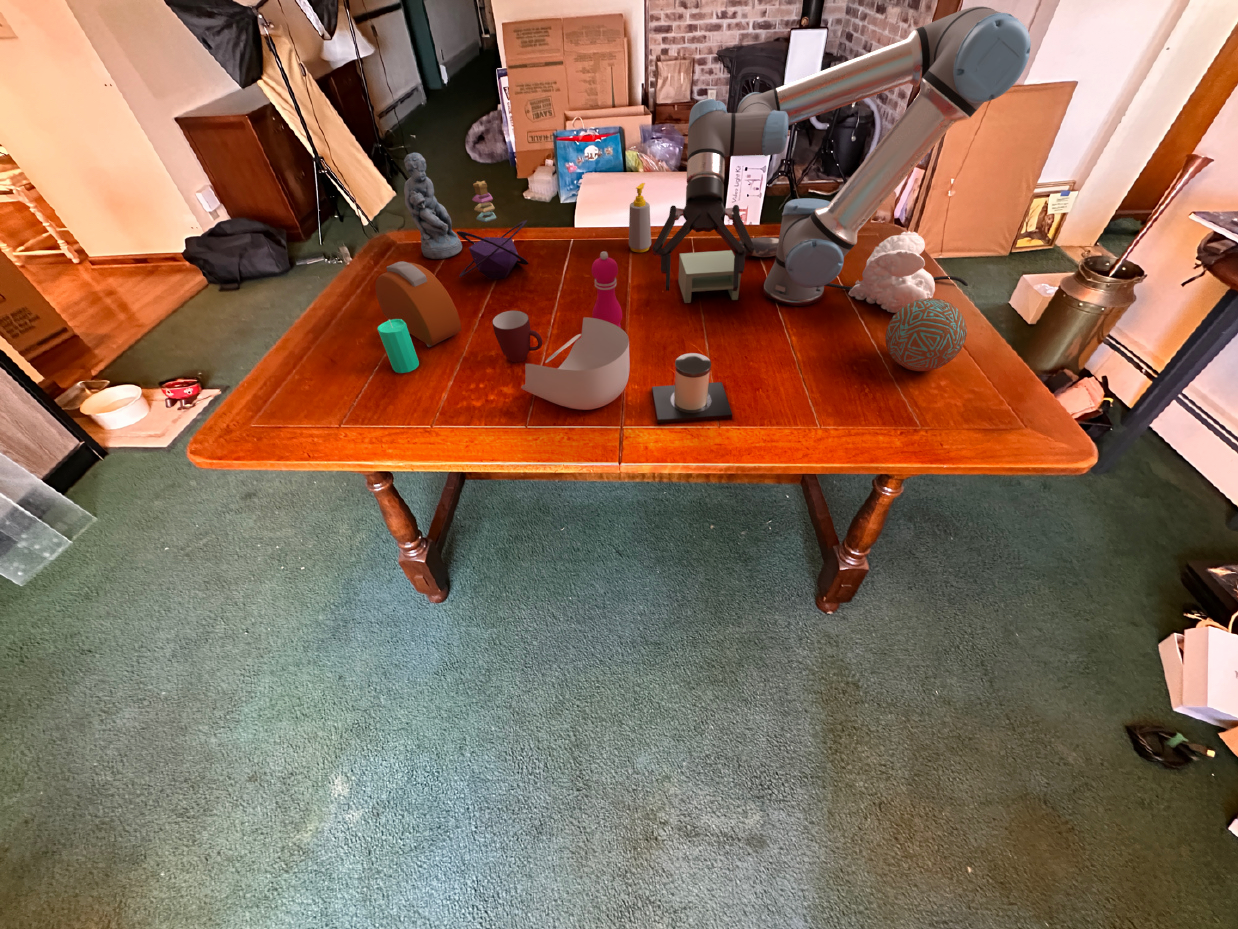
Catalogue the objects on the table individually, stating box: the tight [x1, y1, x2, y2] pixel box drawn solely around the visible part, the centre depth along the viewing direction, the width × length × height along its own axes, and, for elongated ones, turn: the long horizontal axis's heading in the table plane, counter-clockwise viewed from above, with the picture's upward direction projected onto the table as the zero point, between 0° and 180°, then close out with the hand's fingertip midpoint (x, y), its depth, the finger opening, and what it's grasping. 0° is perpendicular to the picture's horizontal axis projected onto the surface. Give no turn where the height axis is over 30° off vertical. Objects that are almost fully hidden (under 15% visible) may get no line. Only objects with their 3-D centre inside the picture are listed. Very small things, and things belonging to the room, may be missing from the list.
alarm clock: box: [375, 261, 463, 348], centre depth 134 cm, size 23×9×17 cm, turn 47°
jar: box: [674, 352, 712, 410], centre depth 111 cm, size 7×7×9 cm
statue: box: [403, 152, 463, 260], centre depth 164 cm, size 12×23×27 cm, turn 71°
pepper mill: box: [591, 250, 623, 329], centre depth 130 cm, size 7×7×20 cm
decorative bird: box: [738, 236, 779, 258], centre depth 161 cm, size 6×25×5 cm, turn 81°
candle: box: [376, 319, 420, 374], centre depth 125 cm, size 6×6×12 cm
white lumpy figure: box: [847, 230, 936, 314], centre depth 138 cm, size 19×20×20 cm
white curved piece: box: [520, 316, 631, 411], centre depth 116 cm, size 20×19×12 cm
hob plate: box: [651, 381, 733, 425], centre depth 115 cm, size 15×11×1 cm
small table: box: [677, 249, 742, 304], centre depth 147 cm, size 14×12×8 cm
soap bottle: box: [628, 182, 652, 253], centre depth 163 cm, size 7×7×18 cm
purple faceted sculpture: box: [456, 180, 530, 280], centre depth 152 cm, size 22×21×25 cm
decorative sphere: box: [885, 297, 968, 372], centre depth 117 cm, size 15×15×15 cm
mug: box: [491, 310, 543, 363], centre depth 126 cm, size 10×8×10 cm
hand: (701, 289), depth 112 cm, fingers open, 13 cm apart
